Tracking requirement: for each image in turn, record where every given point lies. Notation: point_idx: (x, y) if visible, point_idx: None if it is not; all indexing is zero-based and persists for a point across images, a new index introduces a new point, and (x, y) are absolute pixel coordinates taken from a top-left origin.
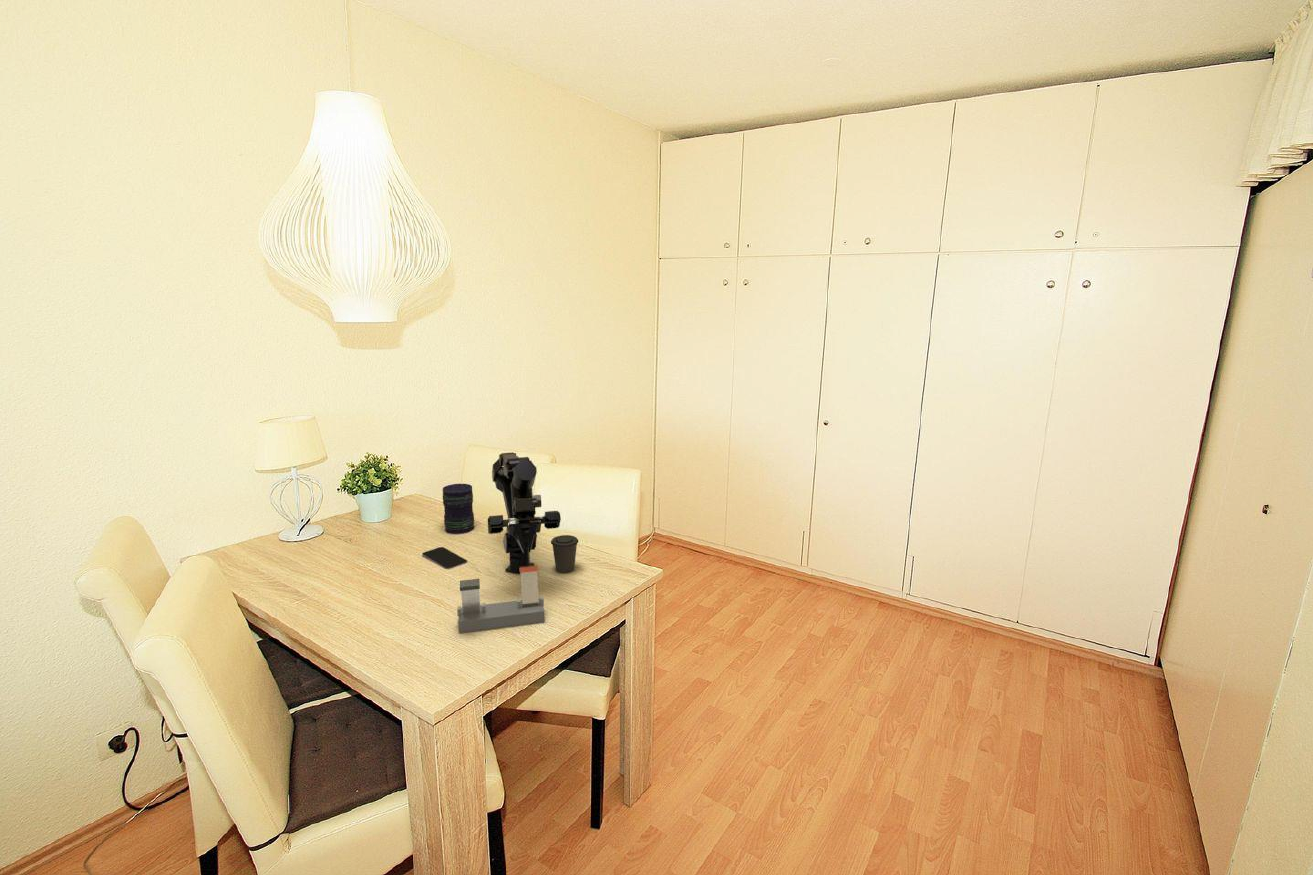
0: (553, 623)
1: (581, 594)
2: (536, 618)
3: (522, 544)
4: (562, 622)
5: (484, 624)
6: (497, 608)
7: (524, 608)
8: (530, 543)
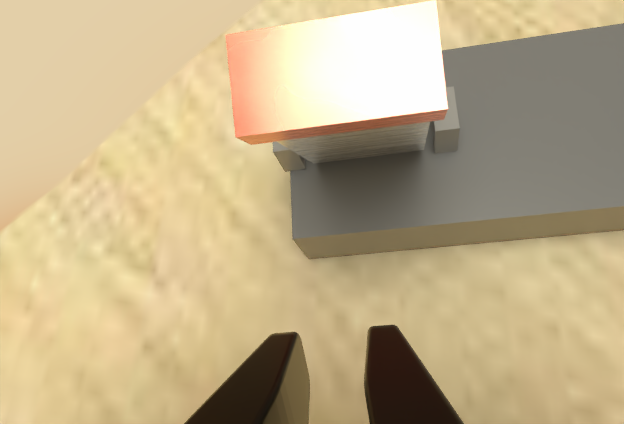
0: None
1: (54, 394)
2: None
3: (404, 400)
4: (215, 99)
5: None
6: (595, 130)
7: None
8: (225, 412)
